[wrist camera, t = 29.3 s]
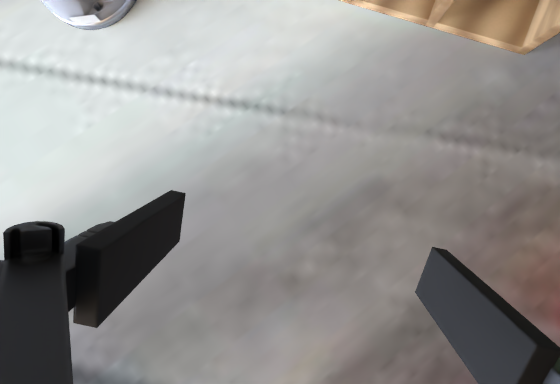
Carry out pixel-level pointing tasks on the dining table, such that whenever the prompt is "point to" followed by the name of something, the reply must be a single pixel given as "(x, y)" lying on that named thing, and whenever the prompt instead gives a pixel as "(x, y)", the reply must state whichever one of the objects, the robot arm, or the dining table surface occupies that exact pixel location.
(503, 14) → the shelf stand
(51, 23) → the dining table surface
